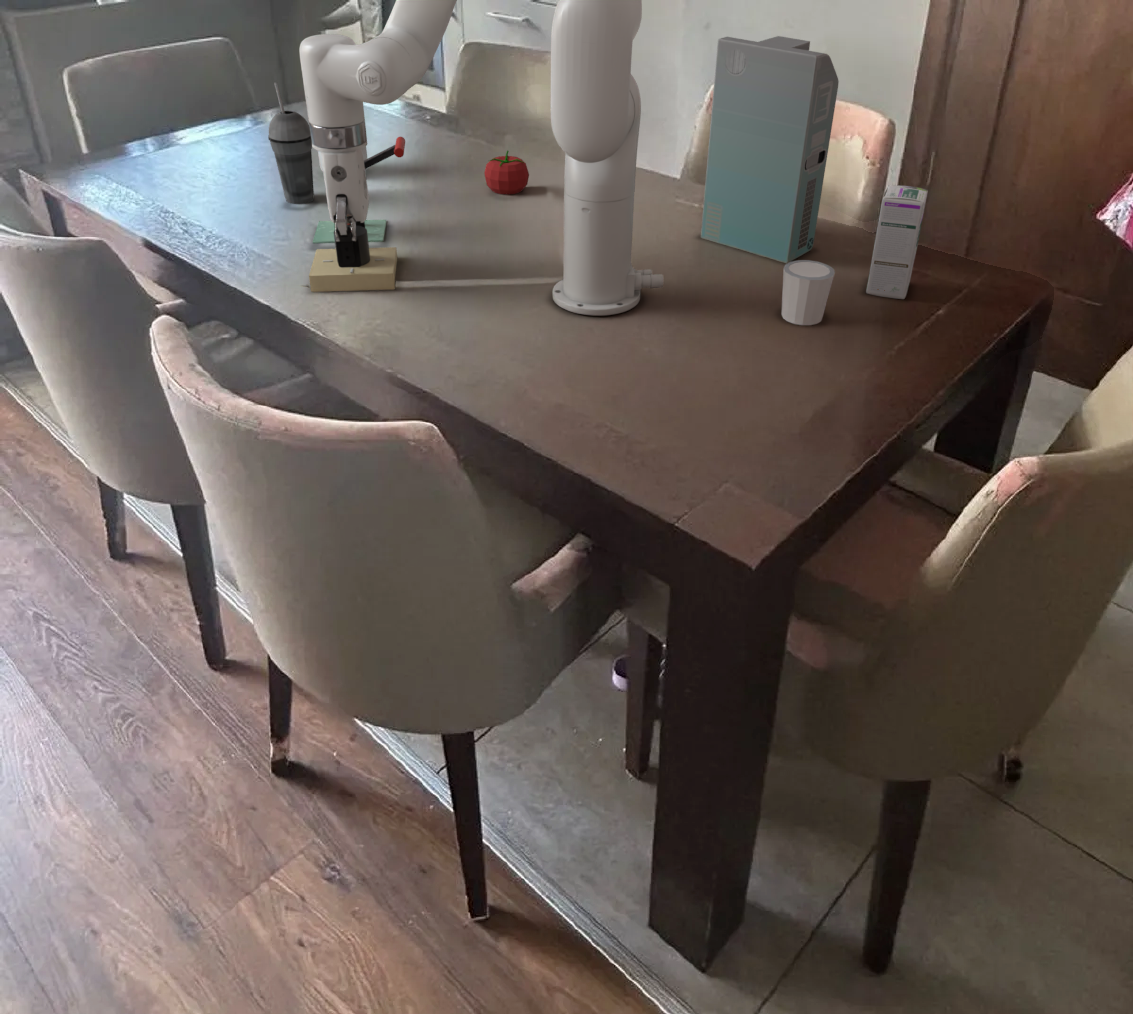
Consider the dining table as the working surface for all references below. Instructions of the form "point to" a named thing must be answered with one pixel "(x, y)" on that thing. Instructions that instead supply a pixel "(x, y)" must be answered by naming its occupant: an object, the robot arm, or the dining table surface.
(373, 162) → the lever
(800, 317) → the shot glass
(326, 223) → the bracket
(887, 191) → the syrup box
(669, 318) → the dining table surface
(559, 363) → the dining table surface
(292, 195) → the beverage cup
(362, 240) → the knob
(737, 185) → the device
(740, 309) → the dining table surface
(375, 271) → the panel
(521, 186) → the tomato
